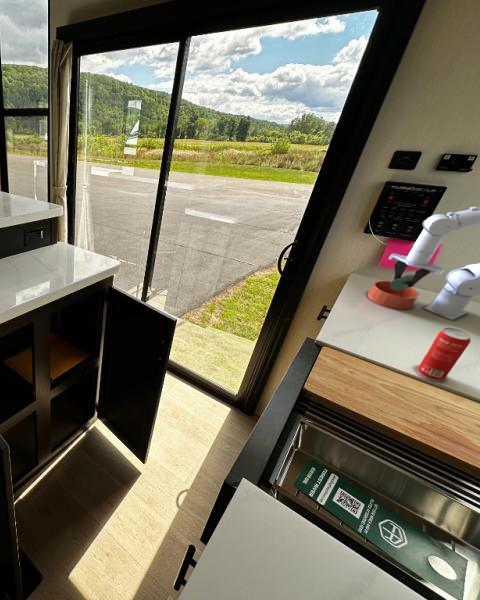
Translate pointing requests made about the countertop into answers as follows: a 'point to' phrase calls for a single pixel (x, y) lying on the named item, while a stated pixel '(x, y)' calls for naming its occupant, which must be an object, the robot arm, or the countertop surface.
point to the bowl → (392, 295)
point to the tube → (401, 282)
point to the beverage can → (443, 353)
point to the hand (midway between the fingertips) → (402, 283)
